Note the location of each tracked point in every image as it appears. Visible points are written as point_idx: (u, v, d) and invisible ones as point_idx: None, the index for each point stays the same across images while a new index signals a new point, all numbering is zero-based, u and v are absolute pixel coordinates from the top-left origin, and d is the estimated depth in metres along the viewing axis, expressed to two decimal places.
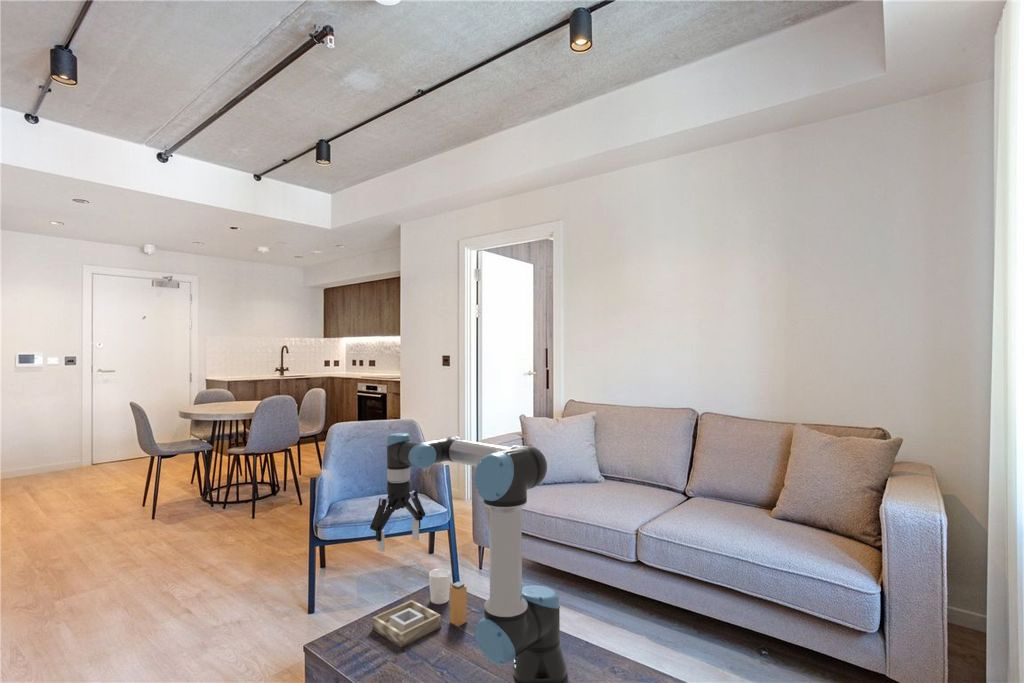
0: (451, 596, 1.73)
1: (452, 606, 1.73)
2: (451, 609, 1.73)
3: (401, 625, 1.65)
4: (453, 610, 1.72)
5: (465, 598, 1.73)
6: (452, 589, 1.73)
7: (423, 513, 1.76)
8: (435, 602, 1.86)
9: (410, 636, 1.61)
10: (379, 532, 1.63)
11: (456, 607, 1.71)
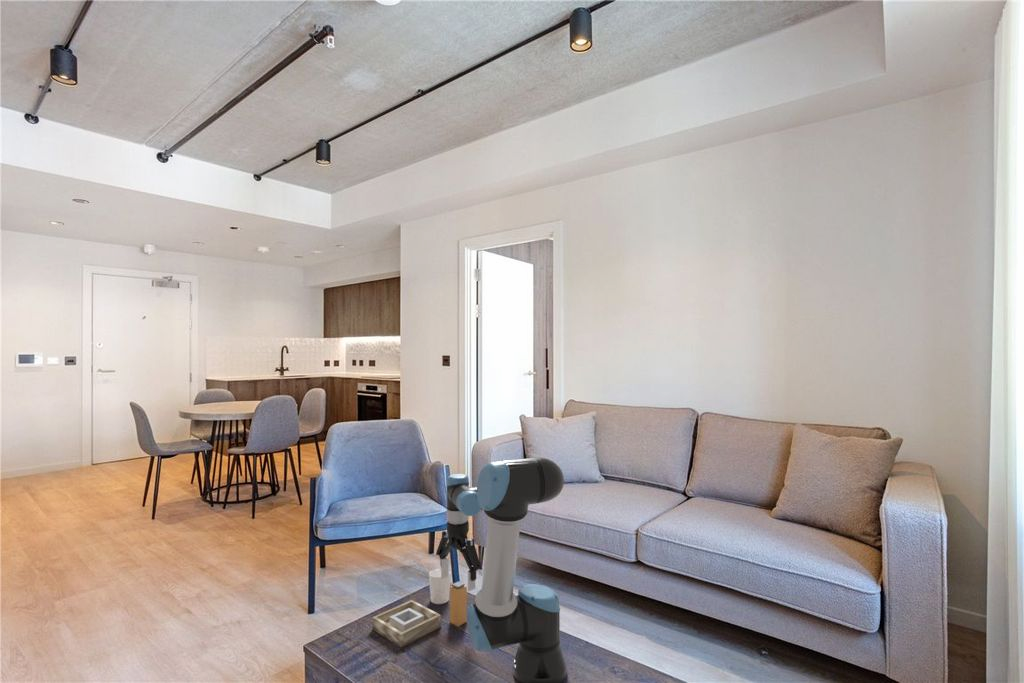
0: (451, 596, 1.73)
1: (452, 606, 1.73)
2: (451, 609, 1.73)
3: (401, 625, 1.65)
4: (453, 610, 1.72)
5: (465, 598, 1.73)
6: (452, 589, 1.73)
7: (474, 567, 1.67)
8: (435, 602, 1.86)
9: (410, 636, 1.61)
10: (441, 559, 1.79)
11: (456, 607, 1.71)
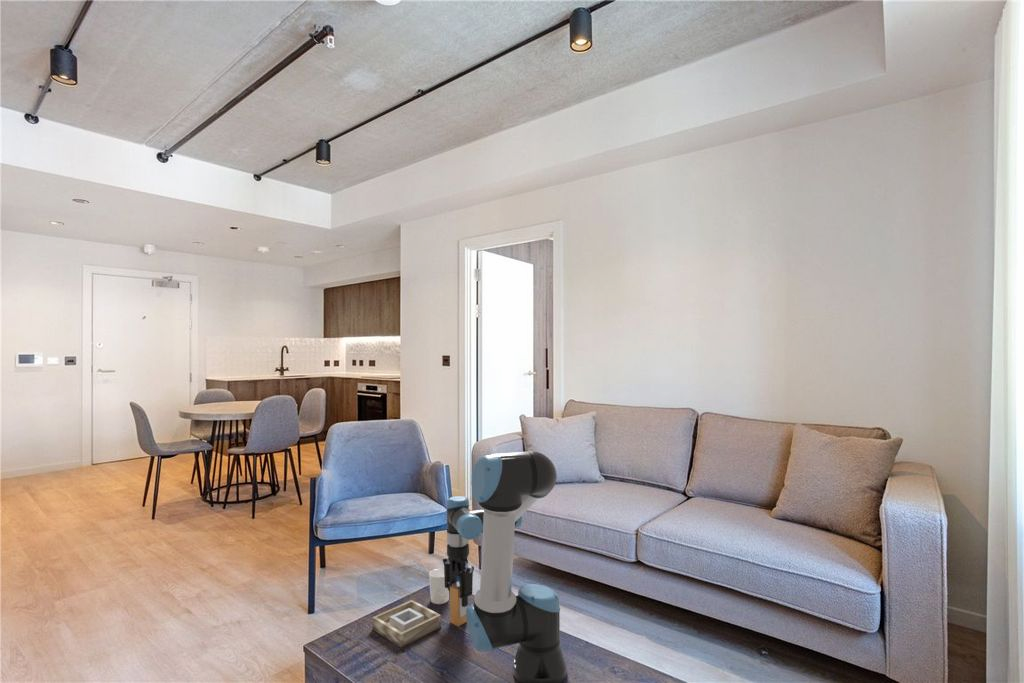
0: (451, 596, 1.73)
1: (452, 606, 1.73)
2: (451, 609, 1.73)
3: (401, 625, 1.65)
4: (453, 610, 1.72)
5: None
6: (452, 589, 1.73)
7: (465, 593, 1.69)
8: (435, 602, 1.86)
9: (410, 636, 1.61)
10: None
11: (456, 607, 1.71)
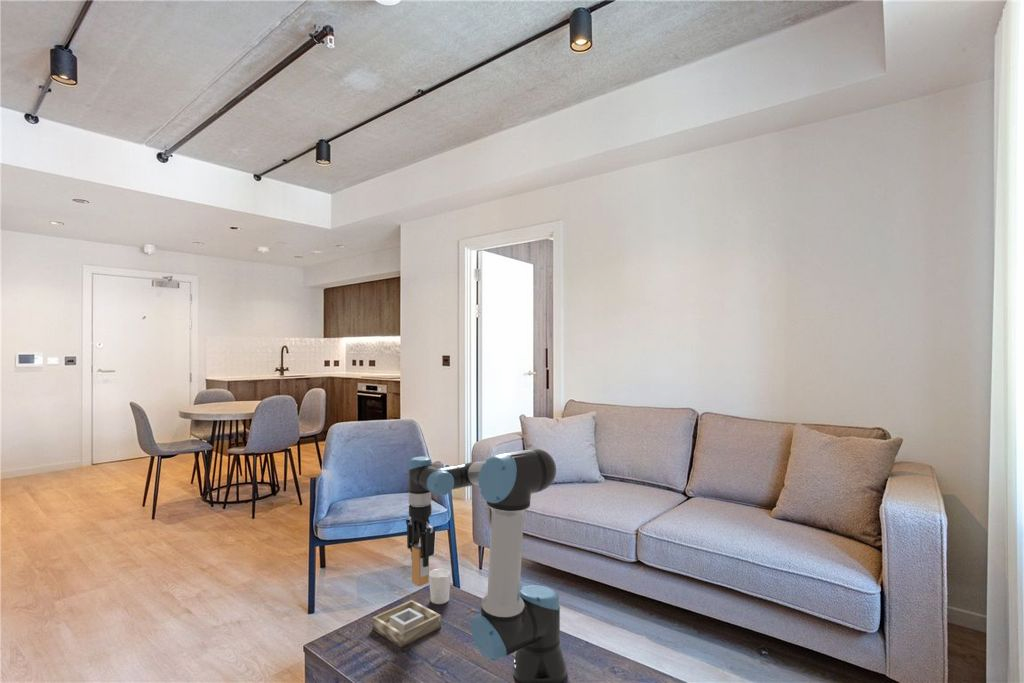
0: (413, 556, 1.71)
1: (414, 566, 1.71)
2: (413, 569, 1.71)
3: (401, 625, 1.65)
4: (415, 570, 1.70)
5: None
6: (414, 549, 1.71)
7: (426, 553, 1.68)
8: (435, 602, 1.86)
9: (410, 636, 1.61)
10: None
11: (417, 567, 1.70)
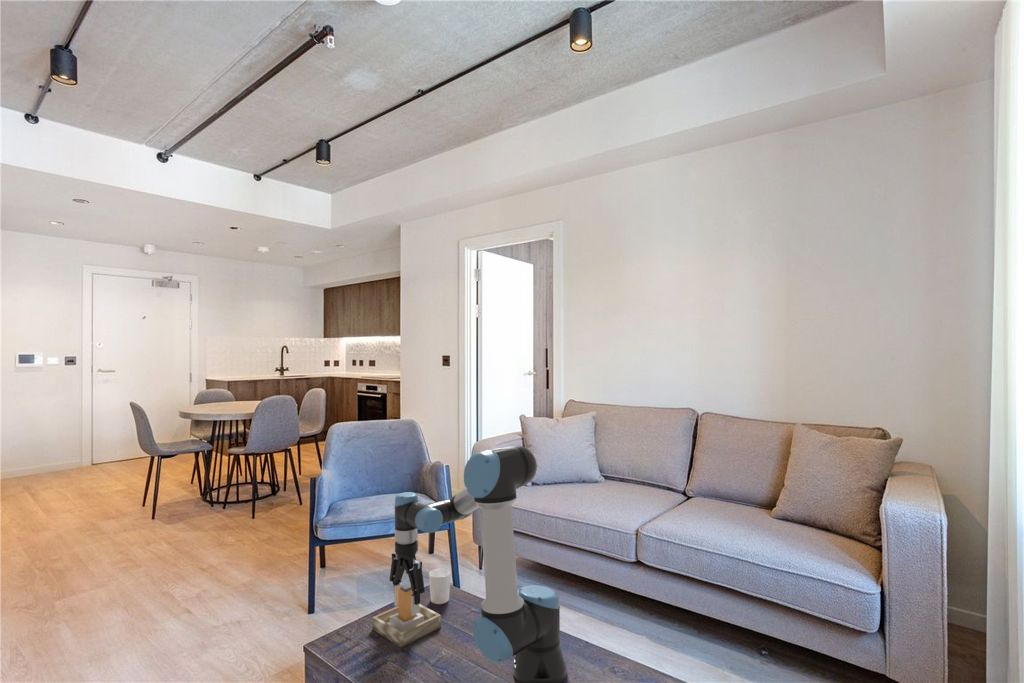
0: (399, 599, 1.69)
1: (400, 609, 1.69)
2: (399, 612, 1.69)
3: (401, 625, 1.65)
4: (401, 612, 1.68)
5: None
6: (400, 591, 1.69)
7: (417, 591, 1.64)
8: (435, 602, 1.86)
9: (410, 636, 1.61)
10: (394, 585, 1.73)
11: (404, 610, 1.68)
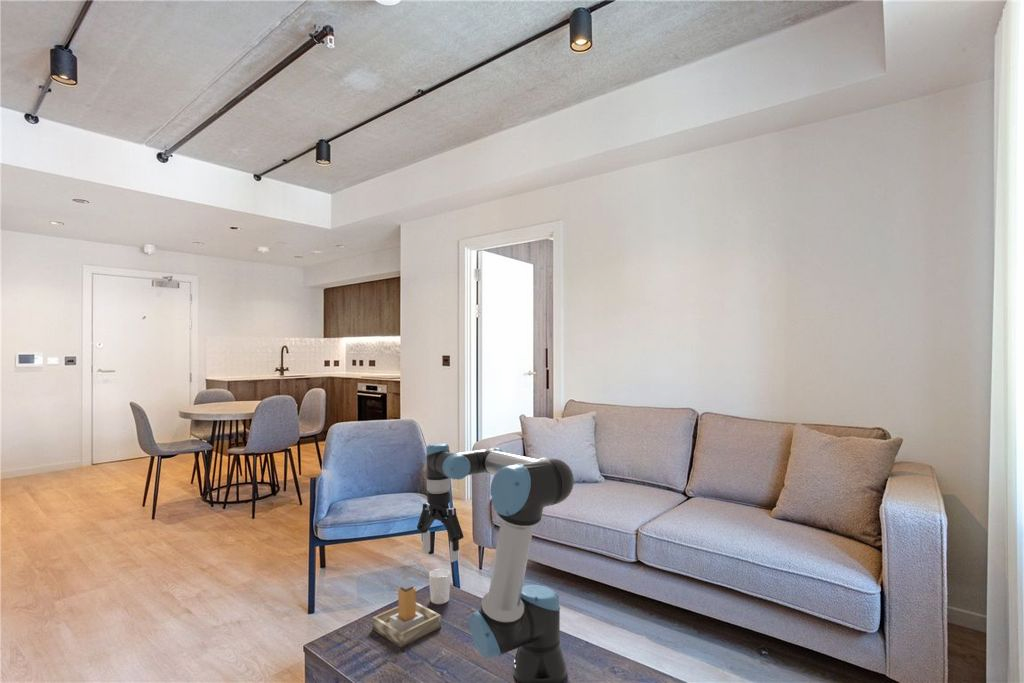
0: (399, 599, 1.69)
1: (400, 609, 1.69)
2: (399, 612, 1.69)
3: (401, 625, 1.65)
4: (402, 612, 1.68)
5: (414, 601, 1.70)
6: (400, 591, 1.69)
7: (456, 536, 1.62)
8: (435, 602, 1.86)
9: (410, 636, 1.61)
10: (422, 533, 1.73)
11: (404, 610, 1.68)
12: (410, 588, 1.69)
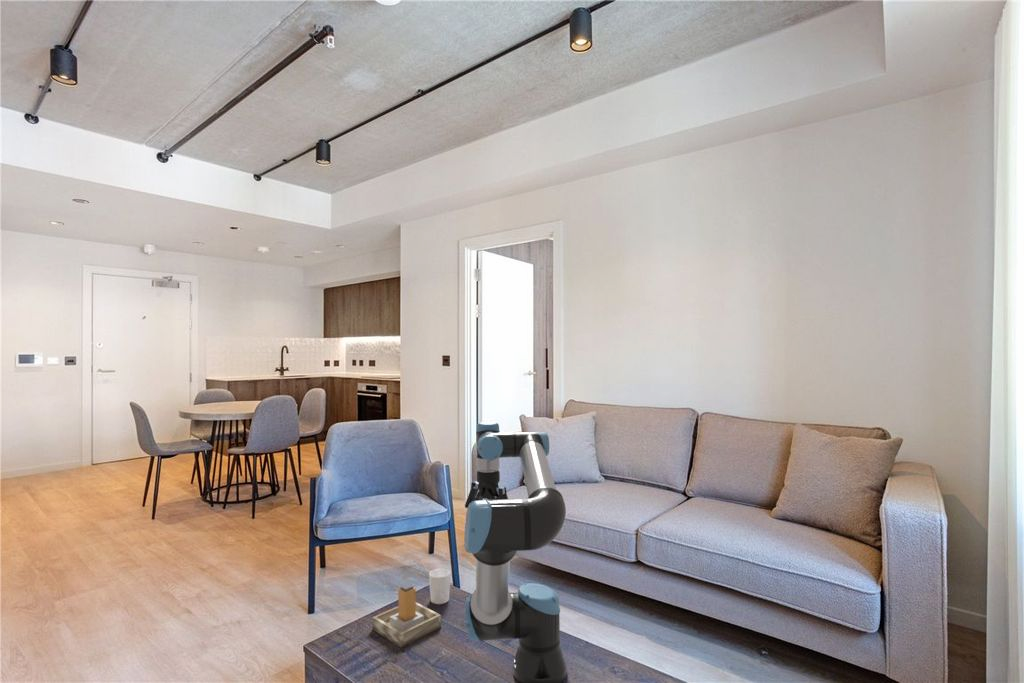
0: (399, 599, 1.69)
1: (400, 609, 1.69)
2: (399, 612, 1.69)
3: (401, 625, 1.65)
4: (402, 612, 1.68)
5: (414, 601, 1.70)
6: (400, 591, 1.69)
7: None
8: (435, 602, 1.86)
9: (410, 636, 1.61)
10: None
11: (404, 610, 1.68)
12: (410, 588, 1.69)
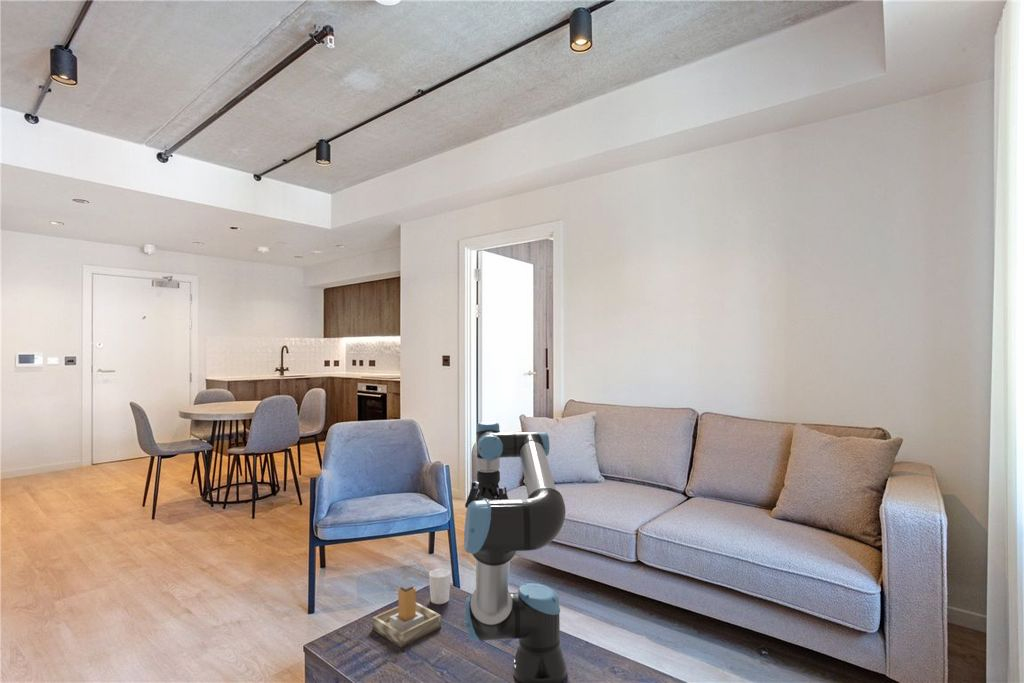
0: (399, 599, 1.69)
1: (400, 609, 1.69)
2: (399, 612, 1.69)
3: (401, 625, 1.65)
4: (402, 612, 1.68)
5: (414, 601, 1.70)
6: (400, 591, 1.69)
7: None
8: (435, 602, 1.86)
9: (410, 636, 1.61)
10: None
11: (404, 610, 1.68)
12: (410, 588, 1.69)
